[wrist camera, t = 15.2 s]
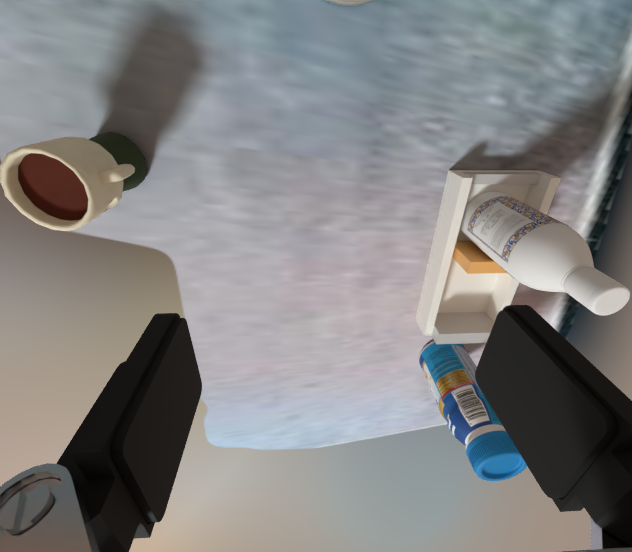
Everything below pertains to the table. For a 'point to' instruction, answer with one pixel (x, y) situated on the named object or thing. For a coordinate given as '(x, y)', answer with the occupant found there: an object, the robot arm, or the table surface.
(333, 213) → the table surface
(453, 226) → the pusher lane
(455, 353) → the beverage bottle
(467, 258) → the orange rectangular block
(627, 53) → the table surface
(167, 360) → the robot arm
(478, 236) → the bath foam
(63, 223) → the character mug
